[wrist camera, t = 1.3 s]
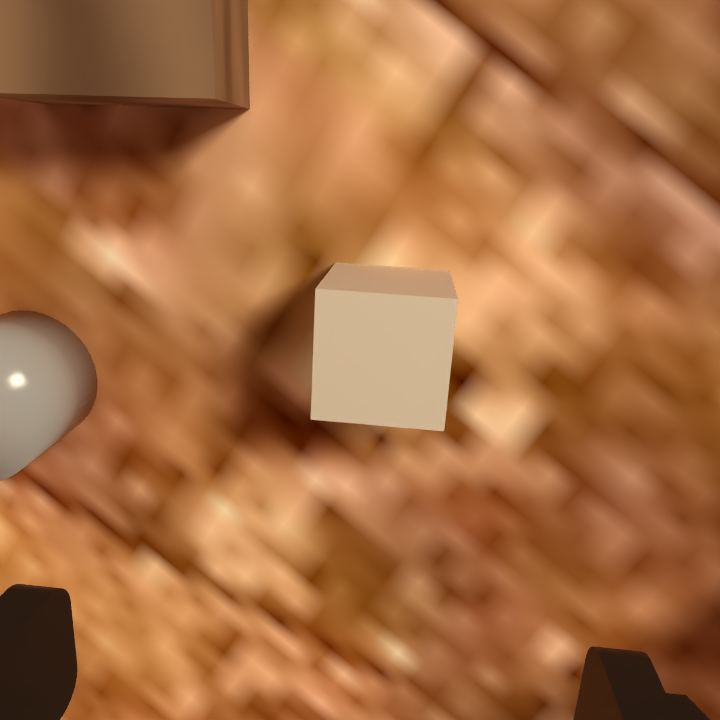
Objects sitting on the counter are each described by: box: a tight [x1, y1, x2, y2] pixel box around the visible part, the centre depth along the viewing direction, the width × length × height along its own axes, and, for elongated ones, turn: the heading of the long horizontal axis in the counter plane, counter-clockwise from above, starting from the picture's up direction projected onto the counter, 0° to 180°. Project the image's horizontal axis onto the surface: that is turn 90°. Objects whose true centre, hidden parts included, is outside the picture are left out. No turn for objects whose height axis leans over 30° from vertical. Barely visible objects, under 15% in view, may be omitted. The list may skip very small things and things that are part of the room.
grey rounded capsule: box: [0, 311, 97, 480], centre depth 29 cm, size 6×6×5 cm
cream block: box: [311, 263, 458, 431], centre depth 26 cm, size 5×5×6 cm
